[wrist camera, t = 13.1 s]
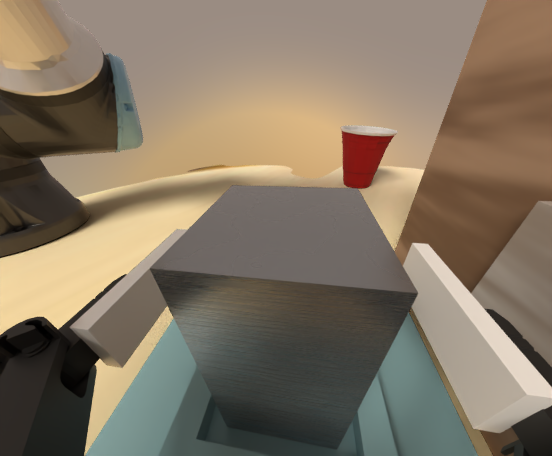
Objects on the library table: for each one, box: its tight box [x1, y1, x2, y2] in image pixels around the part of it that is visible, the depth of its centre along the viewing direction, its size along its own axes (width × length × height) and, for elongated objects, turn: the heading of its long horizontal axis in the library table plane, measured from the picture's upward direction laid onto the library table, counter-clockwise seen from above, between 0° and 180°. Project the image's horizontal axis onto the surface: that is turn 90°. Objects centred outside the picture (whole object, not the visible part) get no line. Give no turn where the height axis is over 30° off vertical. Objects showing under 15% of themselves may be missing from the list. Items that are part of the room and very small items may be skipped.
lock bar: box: [149, 185, 418, 450], centre depth 10 cm, size 6×6×12 cm
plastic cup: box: [341, 126, 398, 188], centre depth 42 cm, size 11×11×12 cm
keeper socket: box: [85, 313, 478, 456], centre depth 13 cm, size 20×20×2 cm
